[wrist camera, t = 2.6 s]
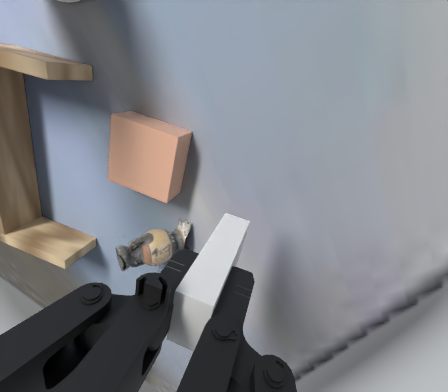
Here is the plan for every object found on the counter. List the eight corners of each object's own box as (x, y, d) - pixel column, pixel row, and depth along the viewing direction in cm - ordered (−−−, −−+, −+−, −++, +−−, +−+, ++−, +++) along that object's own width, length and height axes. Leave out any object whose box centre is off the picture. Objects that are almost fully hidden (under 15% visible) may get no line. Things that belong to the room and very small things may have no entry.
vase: (143, 247, 29) (106, 278, 24) (147, 204, 27) (107, 227, 22) (187, 262, 28) (158, 299, 23) (194, 218, 26) (164, 247, 21)
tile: (193, 131, 22) (178, 137, 20) (181, 190, 25) (166, 203, 22) (133, 110, 23) (111, 113, 21) (128, 170, 26) (107, 180, 23)
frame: (92, 65, 22) (46, 62, 19) (96, 245, 31) (65, 269, 27) (9, 44, 24) (-50, 36, 20) (35, 221, 33) (-2, 239, 29)
